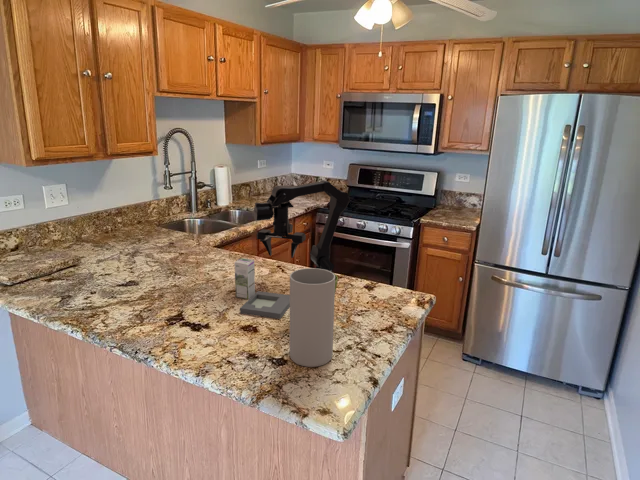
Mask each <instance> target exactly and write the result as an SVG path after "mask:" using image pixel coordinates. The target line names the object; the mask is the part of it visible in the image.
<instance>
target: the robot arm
mask: <svg viewBox="0 0 640 480" xmlns="http://www.w3.org/2000/svg"><path fill="white" fill-rule="evenodd" d="M317 193H318V194H319V193H325V194H326V195H327V196H328V197H329V212H328V214H327V217H326V221H325V223H324V227H323V230H322V232H321V235H320V239H319V241H318V243H317V244H316V245H314V244H313V245H312V247H311V250H310V252H309V254H310V260H311V261H312V262H313V263H314V265H315V266H316V267H315V268H318V269H324V270H328V271H330V272H332V273H333V270H334V268H335V264H334V263H333V262H332V261H330V257H331V250H330V247H331V243H332V241H333V238H334V235H335V232H336V229H337V226H338V223H339V220H340V217H341V215H342V213H343V212H344V210H346V209H347V207H348V205H349V203H350V199H351V197H350V195H349V194H348V192H346V191H343V190H340V189H339V188H337V187H335V186H334V185H333V184H332V183H330V181H327V180H324V179H323V180H319V181H316V182H315V181H314V182H310V183H303V184H299V185H276V186H274V187H273V189H272V190H271V194H270V196H269V197H268V198H267V200H266V202H255V203H254V207H253V209H252V210H253V219H254V221H255V222H257V221H259V222H260V221H269V220H271V219H273V222H272V226H273V232H272V230H271V229H265V228H262V229H260V230H259V231H258V232H256V240H259V242H262V244H263V246H264V248H265V250H266V251H267V253H268V255H269V257H270V256H272V238H275V239H284V240H286V239H287V240H291V241H292V242H291V243H290V245H291V247H290V257H291V259H293V258H294V257H295V253H296V251H297V248H298V246H299V245H300V244H302V243H304V242H305V241H306V239H307V237H306V236H307V235H306V233H305V232H297V231H295V232H294V233H293V230H294V229H293V227H294V224H292V223H291V222H290V219H289V208H294V205H293V204H292V202H291V201H293V200H294V199H295V198H299V197H302V196H308V195H312V194H317ZM291 233H292V234H291Z"/></svg>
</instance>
